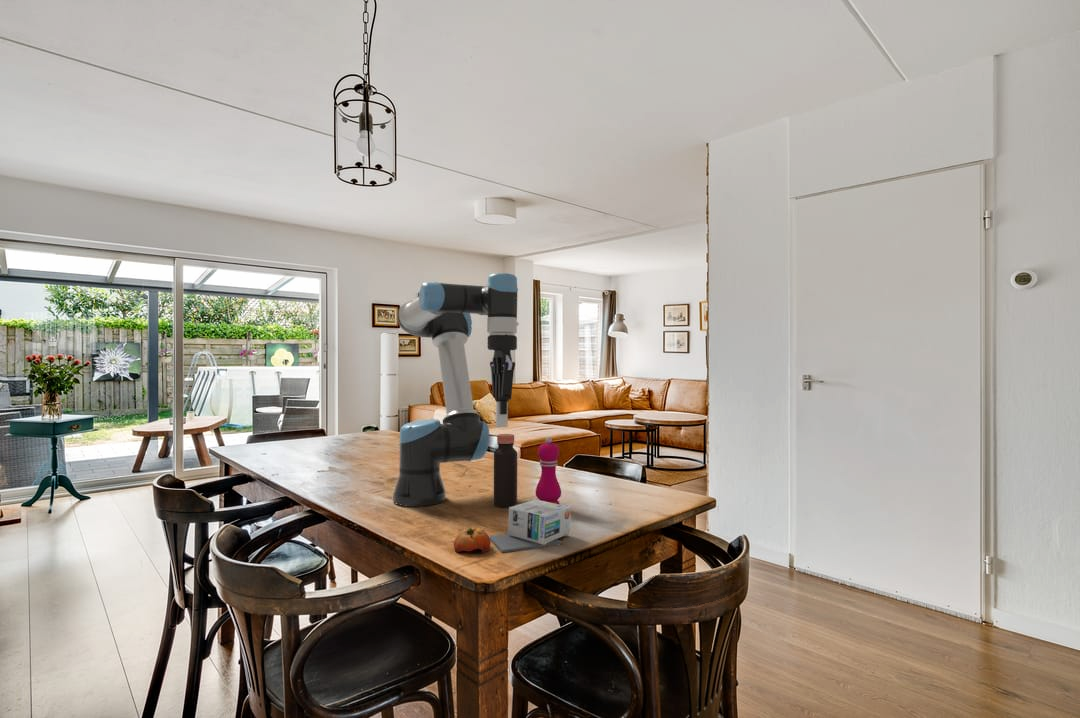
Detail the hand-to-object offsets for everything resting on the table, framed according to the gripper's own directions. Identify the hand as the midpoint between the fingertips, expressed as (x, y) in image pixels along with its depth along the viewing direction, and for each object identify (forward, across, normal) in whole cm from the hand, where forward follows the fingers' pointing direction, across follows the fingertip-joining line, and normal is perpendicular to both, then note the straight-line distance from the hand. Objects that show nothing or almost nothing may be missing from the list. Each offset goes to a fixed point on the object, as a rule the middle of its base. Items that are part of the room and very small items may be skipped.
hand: (501, 426), depth 136 cm
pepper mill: (+25, +7, -16) cm, 31 cm away
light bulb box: (+20, -10, -2) cm, 23 cm away
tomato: (+25, -16, +12) cm, 32 cm away
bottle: (+25, +15, -6) cm, 30 cm away
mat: (+24, -16, 0) cm, 29 cm away
